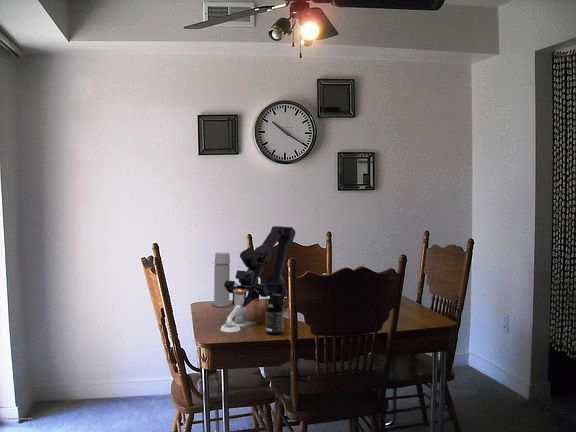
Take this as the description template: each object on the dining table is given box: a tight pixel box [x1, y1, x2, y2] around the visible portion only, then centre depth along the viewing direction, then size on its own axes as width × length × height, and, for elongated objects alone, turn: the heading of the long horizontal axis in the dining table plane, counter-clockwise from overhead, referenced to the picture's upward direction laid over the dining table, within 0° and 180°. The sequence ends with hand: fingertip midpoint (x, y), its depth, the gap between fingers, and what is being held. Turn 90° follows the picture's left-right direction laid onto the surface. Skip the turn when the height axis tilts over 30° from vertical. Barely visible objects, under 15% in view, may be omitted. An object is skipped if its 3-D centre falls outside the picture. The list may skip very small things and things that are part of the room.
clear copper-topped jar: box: [233, 288, 248, 322], centre depth 215 cm, size 6×6×13 cm
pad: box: [222, 319, 258, 329], centre depth 215 cm, size 10×10×1 cm
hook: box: [220, 305, 241, 333], centre depth 205 cm, size 8×12×7 cm
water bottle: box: [213, 251, 231, 308], centre depth 250 cm, size 9×8×25 cm
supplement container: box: [265, 304, 284, 336], centre depth 202 cm, size 7×7×10 cm
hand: (238, 305), depth 213 cm, fingers closed on clear copper-topped jar, 5 cm apart
